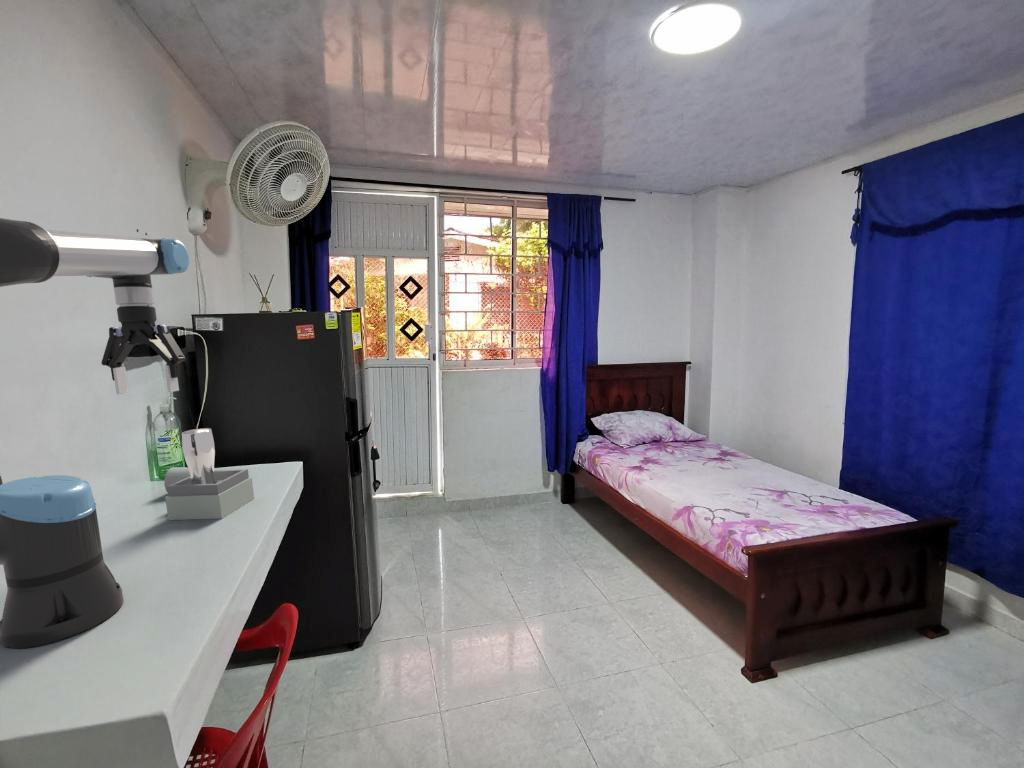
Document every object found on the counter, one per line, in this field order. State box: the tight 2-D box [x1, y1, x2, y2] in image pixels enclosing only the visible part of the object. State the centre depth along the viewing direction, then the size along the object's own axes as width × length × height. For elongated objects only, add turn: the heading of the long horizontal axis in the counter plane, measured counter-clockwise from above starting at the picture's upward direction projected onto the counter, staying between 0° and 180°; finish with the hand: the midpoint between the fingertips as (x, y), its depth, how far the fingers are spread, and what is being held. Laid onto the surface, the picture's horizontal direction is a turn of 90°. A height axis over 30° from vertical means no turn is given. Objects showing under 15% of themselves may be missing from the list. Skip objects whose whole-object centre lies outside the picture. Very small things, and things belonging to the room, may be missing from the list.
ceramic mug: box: [163, 466, 190, 494], centre depth 147 cm, size 11×8×8 cm
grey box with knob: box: [164, 468, 255, 521], centre depth 130 cm, size 14×17×8 cm
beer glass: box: [181, 427, 217, 485], centre depth 129 cm, size 7×7×15 cm
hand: (148, 392), depth 123 cm, fingers open, 13 cm apart
